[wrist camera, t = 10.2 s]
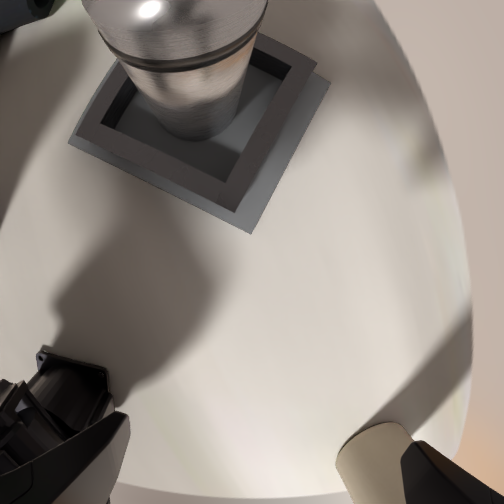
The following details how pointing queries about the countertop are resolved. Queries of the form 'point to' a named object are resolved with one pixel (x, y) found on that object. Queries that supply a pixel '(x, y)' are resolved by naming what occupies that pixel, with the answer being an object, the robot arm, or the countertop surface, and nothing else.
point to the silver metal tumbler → (183, 56)
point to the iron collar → (223, 194)
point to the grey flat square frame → (219, 144)
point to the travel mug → (375, 464)
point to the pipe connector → (22, 12)
